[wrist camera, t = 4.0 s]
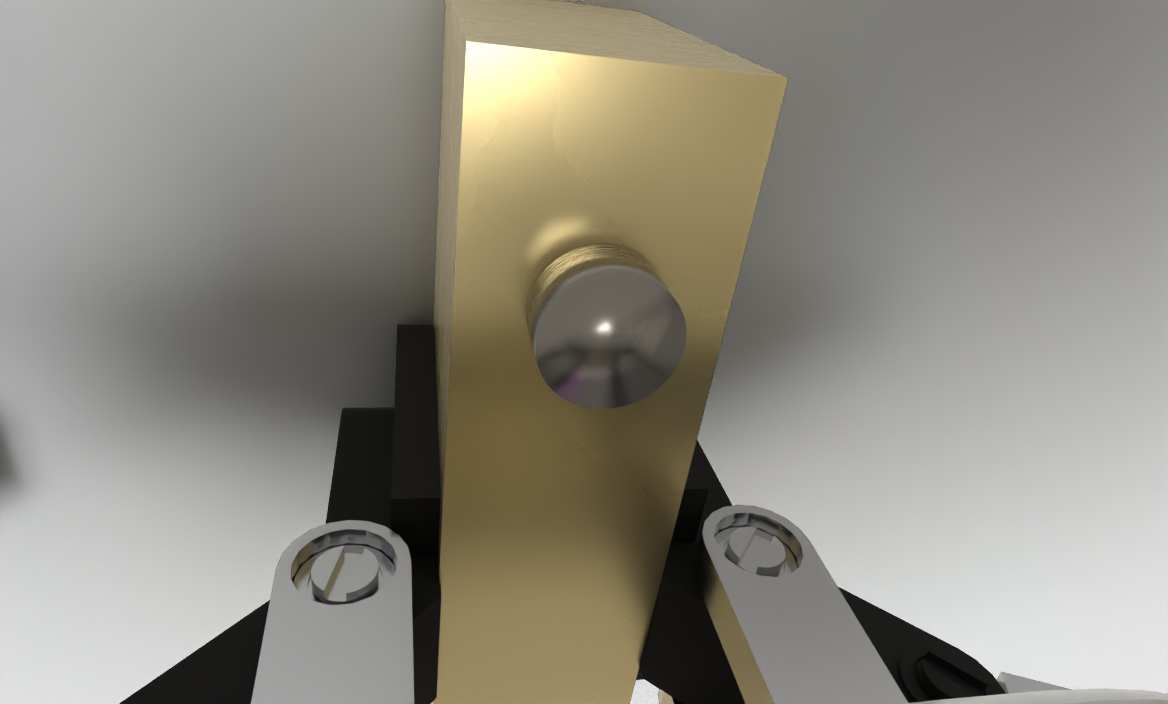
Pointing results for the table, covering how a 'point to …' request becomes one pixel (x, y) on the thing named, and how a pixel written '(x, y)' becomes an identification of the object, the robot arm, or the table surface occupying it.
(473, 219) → the master link
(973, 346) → the table surface
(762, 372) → the table surface
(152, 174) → the table surface
